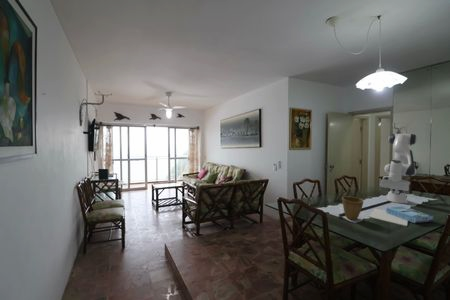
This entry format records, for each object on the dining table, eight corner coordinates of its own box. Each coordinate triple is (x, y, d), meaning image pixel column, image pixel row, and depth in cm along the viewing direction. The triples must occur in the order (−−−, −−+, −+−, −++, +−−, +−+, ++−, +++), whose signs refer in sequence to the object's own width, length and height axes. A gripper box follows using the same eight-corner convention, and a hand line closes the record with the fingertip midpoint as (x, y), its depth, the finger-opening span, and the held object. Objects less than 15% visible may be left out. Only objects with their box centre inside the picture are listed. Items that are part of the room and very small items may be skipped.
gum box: (385, 212, 187) (415, 223, 165) (386, 206, 186) (415, 217, 164) (402, 211, 192) (432, 222, 170) (403, 205, 191) (433, 215, 169)
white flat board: (374, 209, 197) (375, 208, 197) (408, 216, 181) (409, 215, 181) (369, 217, 177) (369, 216, 177) (406, 226, 160) (406, 225, 160)
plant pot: (342, 213, 184) (344, 195, 182) (363, 218, 174) (364, 199, 173) (339, 218, 172) (340, 199, 171) (360, 223, 163) (362, 203, 161)
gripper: (410, 180, 185) (408, 195, 186) (381, 176, 199) (380, 190, 200) (410, 181, 180) (408, 197, 181) (380, 177, 194) (379, 191, 195)
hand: (393, 193), depth 191 cm, fingers closed
